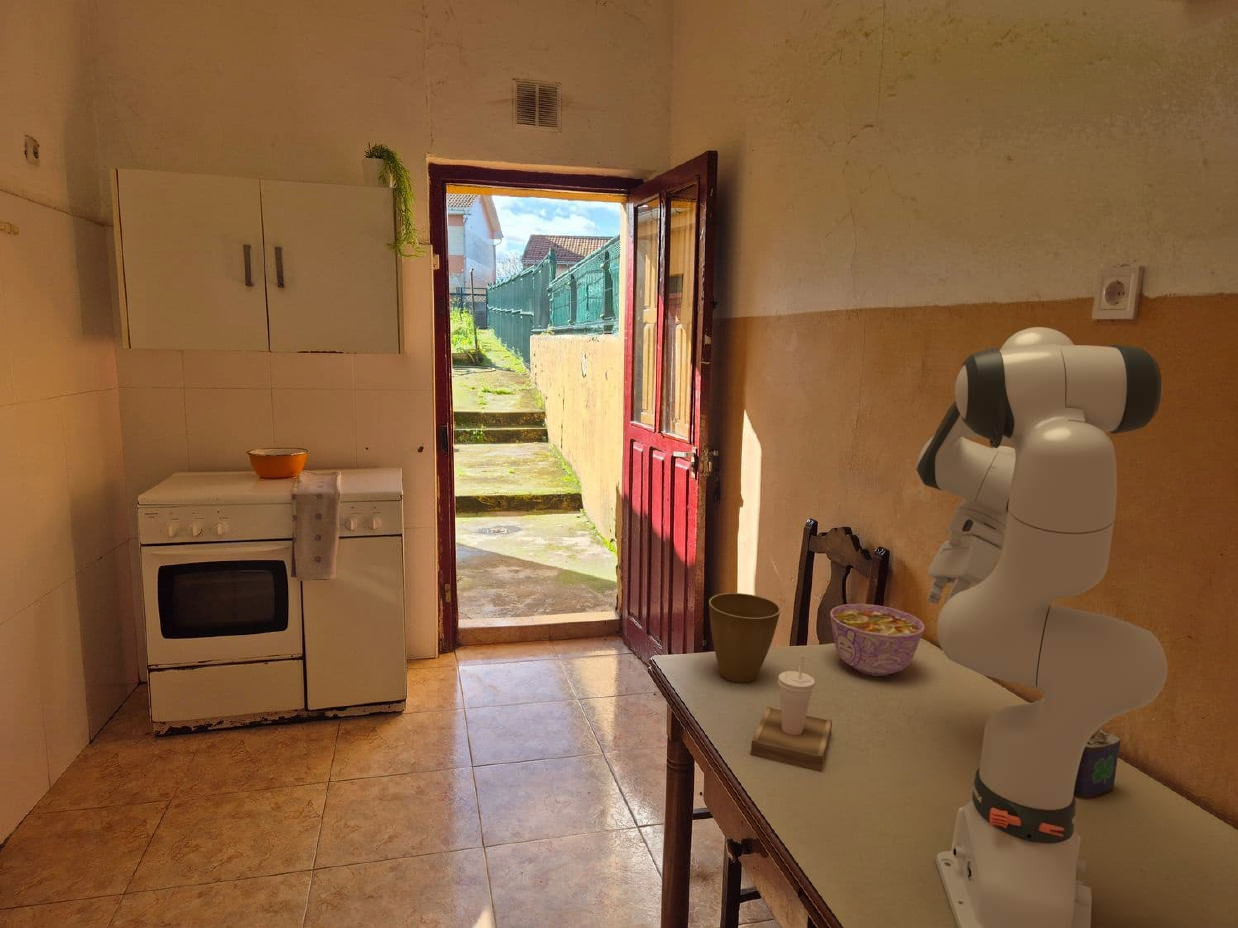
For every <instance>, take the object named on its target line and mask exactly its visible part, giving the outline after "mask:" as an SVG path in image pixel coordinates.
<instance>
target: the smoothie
mask: <svg viewBox="0 0 1238 928" xmlns="http://www.w3.org/2000/svg"><path fill="white" fill-rule="evenodd" d="M798 666H799V667H798V671H794V670H793V671H792V670H790V671H789V670H787V671H783V672H781V673H779V675H778V678H777V683H778V685H779V697H780V698H779V701H780V702H779V703H780V710H781V727H782V730H783V731H784V732H786V733H788V734H792V735H798V734H801V733H802V732H803V728H804V723H805V719H806V716H807V714H808V709H809V707H810V706H809V705H810V700H811V696H812V692H813V690H814V688H815V678H814V677H812V676H811V675H810V674H807V673H804V672H803V667H804V655H802V654H801V655H800V656H799V665H798Z"/></svg>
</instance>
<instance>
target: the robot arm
mask: <svg viewBox="0 0 1238 928" xmlns="http://www.w3.org/2000/svg"><path fill="white" fill-rule="evenodd" d="M1162 380H1163V379H1162V374H1161V369H1160V365H1159V363H1158V361H1157V360H1156V358H1155V357H1154V356H1153V355H1151V354H1150V353H1149V352H1148V351H1147V350H1146V349H1144V348H1141V347H1140V348H1139V347H1137V346H1131V345H1130V346H1129V345H1125V344H1124V345H1123V344H1112V345H1109V346H1102V345H1087V344H1086V345H1084V344H1083V345H1082V344H1081V345H1079V344H1074V343H1073V341H1072V340H1071V339H1070V338H1069V337H1068V336H1067V335H1066V334H1064V333H1063V332H1062V331H1059V330H1056V329H1055V328H1054V329H1053V328H1050V327H1042V326H1034V327H1029V328H1025V329H1022V330H1020V331H1017V332H1015V333H1014V334H1012V335H1011V336H1009V338H1008V339H1007V340H1006V341H1005V342H1004V343H1003V344H1002V346H1001V348H1000V349H999V348H998V347H994V348H987V349H985V350H981V351H976V352H974V353H971V354H969V355H968V356H967V358H966V359H965V360H964V361H963V362H962V365H961V369H960V370H959V373H958V375H957V377H956V381H955V387H954V401H953V402H952V404H951V406H950V407H949V408H948V409H947V411H946V413H945V415H944V417H943V418H942V420H941V422H940V424H939V425H938V427H937V429H936V430H935V433H934V435H933V436H932V437H931V438H930V439H928V440H927V442H925V445H924V446H923V447H922V449H921V451H920V453H919V455H918V458H917V462H916V463H917V464H916V472H917V474H918V476H919V478H920V480H921V482H922V484H923V485H924V486H926V487H929V488H933V489H936V490H939V491H943V492H946V493H949V494H951V495H954V496H956V497H958V498H962V499H963V500H962V501H961V502H960V503H959V504H958V506H957V508H956V510H955V512H954V513H953V516H952V518H951V520H950V522H949V524H948V526H947V527H946V531H945V533H946V535H948V536H949V537H950V539H949V540H946V541H944V542H943V543H942V544H941V546H940V547H939V549H938V551H937V552H936V554H935V556H934V558H933V560H932V562H931V563H930V566H929V568H928V570H927V577H930V578H932V581H931V585H930V592H929V594H927V595H928V596H927V597H926V600H927V601H928V602H929V603H931V604H933V605H938V604H939V603H940V602H941V599H942V594H943V592H944V589H945V588H946V587H947V585H948V584H949V585H950V584H953V586H952V587H951V589H950V590H949V591H948V592H947V593H946V596H945V598H944V600H943V602H944V603H945V604H944V605H943V606H942V608H941V610H940V612H939V615H938V619H937V622H936V623H937V624H936V634H937V638H938V639H937V640H938V643H939V645H940V648H941V650H942V652H943V654H944V655H945V657H946V658H947V660H949V661H952V662H954V663H955V664H958V665H959V666H961V667H963V668H966V669H969V670H970V671H973V672H975V673H977V674H980V675H983V676H987V677H990V678H992V679H993V678H994V679H997V680H1002V681H1005V682H1009V683H1012V684H1016V685H1021V686H1025V687H1028V688H1032V689H1035V690H1037V691H1040V692H1042V693H1043V694H1044V696H1043V697H1042V698H1041V699H1039V700H1036V701H1033V702H1030V703H1023V704H1022V703H1021V704H1015V705H1009V706H1008V707H1004V708H1001V709H999V710H997V711H996V712H994V713H993V714H992V715H991V716H990V717H989V718H988V720H987V722H986V723H985V726H984V731H983V732H984V733H983V740H982V747H981V755H980V764H979V767H978V768H977V769H976V771H975V774H974V778H973V780H972V781H973V782H972V793H971V794H972V795H971V800H970V801H969V802H967V803H966V804H964V805H962V806H961V807H960V808H958V810H957V815H956V819H955V820H956V821H955V826H954V833H953V837H952V844H951V850H945V851H940V852H938V853H937V855H936V859H935V865H936V866H937V870H938V873H939V876H940V879H941V882H942V884H943V887H944V891H945V893H946V894H945V895H946V897H947V900H948V903H949V906H950V908H951V911H952V915H953V917H954V920H955V924H956V925H957V928H1091V926H1092V907H1093V906H1092V904H1093V903H1092V902H1093V901H1092V900H1093V899H1092V887H1090V886H1087V885H1084V881H1081V880H1078V879H1076V878H1077V871H1080V872H1083V873H1084V872H1086V870H1087V869H1086V868H1087V867H1086V866H1087V860H1086V859H1085V860H1084V859H1082V858H1079V854H1080V852H1079V851H1080V848H1081V847H1080V846H1081V841H1082V838H1081V837H1080V835H1078V833H1077V832H1076V831H1075V822H1076V819H1077V818H1076V817H1077V808H1076V803H1077V801H1076V797H1075V796H1074V795H1073V794H1074V788H1075V782H1076V777H1077V772H1078V768H1079V764H1080V761H1081V757H1082V754H1083V751H1084V748H1085V746H1086V744H1087V743H1088V741H1089V739H1092V736H1094V734H1095V733H1096V732H1098V729H1099V730H1100V728H1101V727H1102V726H1103V725H1105V724H1106V723H1108V722H1109V721H1111V720H1112V719H1114V718H1116V717H1119V716H1120V715H1123V714H1125V713H1128V712H1131V711H1135V710H1138V709H1139V710H1140V709H1141V708H1143V707H1146V706H1147V705H1148V704H1151V703H1152V702H1153V701H1154V700H1155V699H1156V698H1157V697H1158V696H1159V695H1160V693H1161V692H1162V690H1163V689H1164V687H1165V684H1166V681H1167V677H1168V668H1169V667H1168V660H1167V656H1166V653H1165V650H1164V648H1163V645H1162V644H1161V643H1160V641H1159V640H1158V638H1157V637H1156V635H1154V634H1153V632H1152V631H1151V630H1148V629H1145V628H1143V627H1141V626H1138V625H1135V624H1133V623H1130V622H1128V621H1125V620H1122V619H1119V618H1116V617H1114V616H1110V615H1106V614H1103V613H1102V614H1101V613H1097V612H1092V611H1086V610H1083V609H1076V608H1071V607H1067V606H1062V605H1058V604H1052V603H1051V602H1052V601H1056V600H1062V599H1066V598H1071V597H1074V596H1077V595H1081V594H1083V593H1085V592H1086V591H1089V590H1091V589H1092V588H1093V587H1095V586H1096V585H1098V584H1099V583H1100V582H1101V581H1102V580H1103V578H1104V577H1105V575H1106V574H1107V571H1108V566H1109V560H1110V553H1111V545H1112V540H1113V533H1114V532H1113V531H1114V525H1115V519H1116V518H1115V517H1116V509H1117V496H1118V495H1117V494H1118V472H1117V471H1118V470H1117V469H1118V468H1117V459H1116V451H1115V446H1114V443H1113V441H1112V440H1111V438H1110V435H1108V434H1107V433H1110V434H1112V435H1116V434H1123V433H1128V432H1132V431H1136V430H1140V429H1143V428H1145V427H1146V426H1147V425H1148V424H1149V423H1150V422H1151V421H1152V420H1153V418H1155V417H1156V414H1157V413H1158V410H1159V408H1160V404H1161V398H1162V395H1163V381H1162ZM965 437H970V438H978V439H983V440H987V441H989V445H990V446H991V447H989V446H987V445H983V444H982V443H978V442H975V441H972V440H970V439H968V438H965ZM1001 444H1003V445H1001ZM1007 445H1009V446H1007ZM1012 446H1013V447H1012ZM995 565H996V566H995ZM971 585H972V587H970V586H971Z"/></svg>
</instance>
